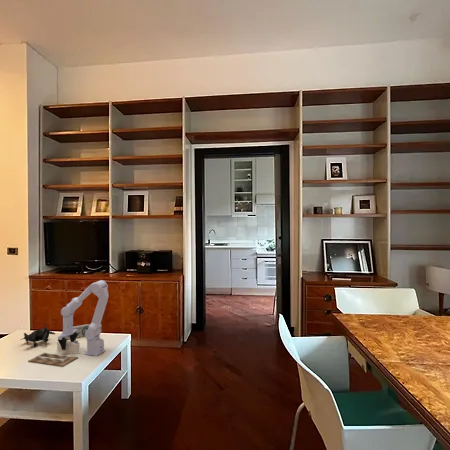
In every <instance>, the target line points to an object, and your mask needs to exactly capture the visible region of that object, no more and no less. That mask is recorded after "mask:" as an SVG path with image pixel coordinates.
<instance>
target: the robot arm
mask: <svg viewBox="0 0 450 450" xmlns="http://www.w3.org/2000/svg"><path fill="white" fill-rule="evenodd" d="M108 288H109V286H108V284H107V282H106V280H103V279H100V280H98V281H96V282H92V283H91V284H89V285H88V286H87V287H86V288H85V289H84V290H83V292H82V293H81V294H80V295H78V296H77V297H73V298H71V300H70V302H69V303H67V304H66V306H64V307H62V309H61V310H60V315H61V316H62V332H61V334H59V335H58V336H57V342H58V341H59V343H60V345H61V348H62V350H65V349H66V342H67V341H68V340H67V339H65V337H67V336H70V340H69V342H74V341H75V340H76V341H77V338H78V337H77V336H78V333H77V332H78V329H74V330H73V327H74V314H75V312H76V310H77V309H78V308H79V307H81V305H83V301H84V300H85V299H86V298H88V296H89V295H91V294H94V295H95V296H96V297H97V298H98V300H97V304H96V306H95V309H94V314H93V316H92V320H91V322H90V324H89V325H90V326H89V327H88V330H87V331H86V332H85V336H84V337H85V339H86V352H84V353H83V354H84V355H89V356H95V357H96V356H97V357H98V356H99V355H101V354H103V353H104V352H105V350H106V349H105V340H104V339H102V338H101V337H100V335H101V333H102V320H103V316H104V314H105V311H106V306H107V304H108V299H109V297H110V296H109V290H108Z"/></svg>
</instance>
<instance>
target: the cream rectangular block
mask: <svg viewBox="0 0 450 450" xmlns="http://www.w3.org/2000/svg"><path fill="white" fill-rule="evenodd" d="M56 345H57V346H56V350H57V351H56V352H58V353H67V354H73V355H76V354H79V353H80V342H79V340H77V339H76V340H75V341H74V342H70V340H67V342H66V349H65V350H62V348H61V345H60V343H59V341H58V340H57V342H56Z"/></svg>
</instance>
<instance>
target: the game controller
mask: <svg viewBox="0 0 450 450" xmlns="http://www.w3.org/2000/svg"><path fill="white" fill-rule="evenodd" d="M89 326H90V324H88V323H87V324H82V325H76V326H75V325H73V330H74V329H78V332H77V333H78V336H77V338H78V337H79V338H80V337H85V332H86V331H87V330H88V327H89ZM65 339H67V341H70V336H67V337H65Z"/></svg>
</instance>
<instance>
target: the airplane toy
mask: <svg viewBox="0 0 450 450" xmlns="http://www.w3.org/2000/svg"><path fill="white" fill-rule="evenodd" d="M43 323H44V325H43V326H42V328H41V329H40V328H39V329H37V330H33V331H32V332H31V333H29V334H27V333H26V332H24V333H23V336H24V337H23V338H21V339H20V341H23V340H24V342H26V344H29V342H30V343H31V342H32V343H33V344H32V345H33V347H34V348H38V345H39V344H38V343H37V342H41V341H43V342H44V343H47V342H49V338H50V335H56V333H55V332H54V331H51V329H49V328H48V327H47V324H46V323H45V321H43Z"/></svg>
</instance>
